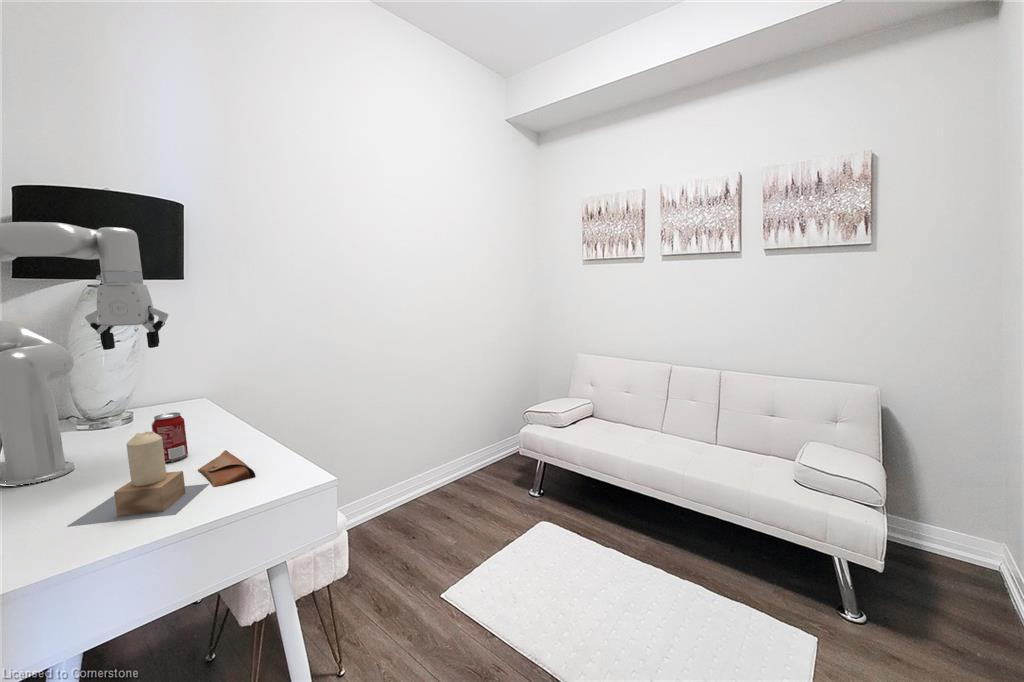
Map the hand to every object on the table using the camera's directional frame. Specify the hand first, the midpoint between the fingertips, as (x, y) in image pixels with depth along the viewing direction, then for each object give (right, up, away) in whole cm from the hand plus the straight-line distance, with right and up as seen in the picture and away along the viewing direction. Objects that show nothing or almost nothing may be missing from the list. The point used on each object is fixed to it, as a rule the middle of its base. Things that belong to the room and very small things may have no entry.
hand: (131, 348), depth 109 cm
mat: (+20, -32, -19) cm, 42 cm away
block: (+22, -32, -20) cm, 43 cm away
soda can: (+5, -30, +6) cm, 31 cm away
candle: (+21, -27, -20) cm, 40 cm away
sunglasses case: (+26, -31, -4) cm, 41 cm away
